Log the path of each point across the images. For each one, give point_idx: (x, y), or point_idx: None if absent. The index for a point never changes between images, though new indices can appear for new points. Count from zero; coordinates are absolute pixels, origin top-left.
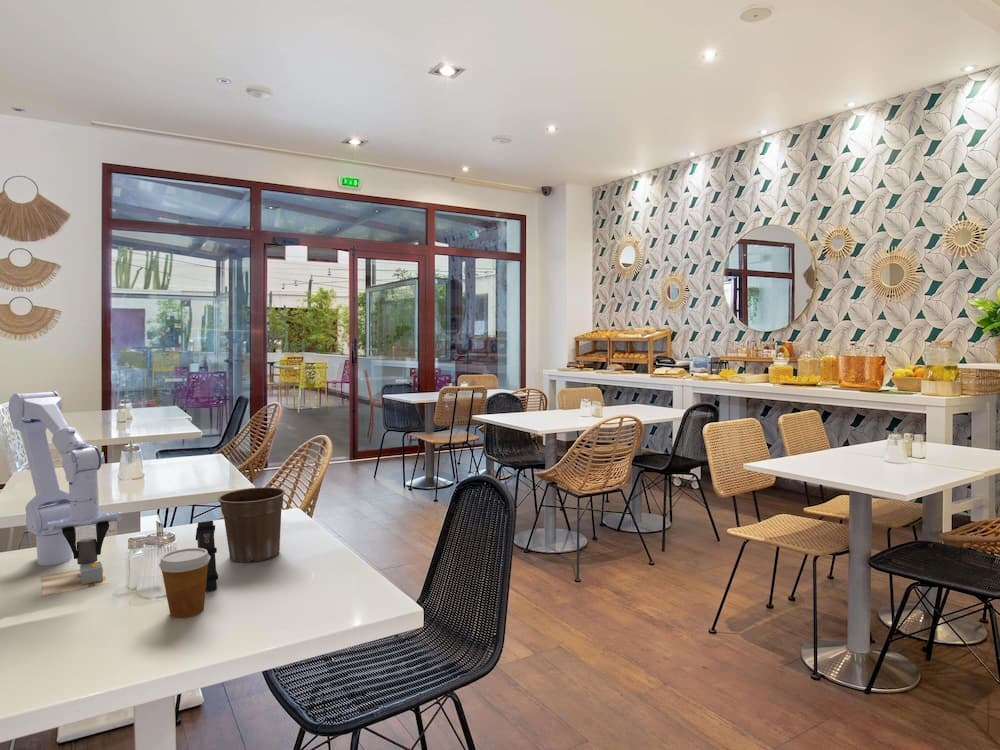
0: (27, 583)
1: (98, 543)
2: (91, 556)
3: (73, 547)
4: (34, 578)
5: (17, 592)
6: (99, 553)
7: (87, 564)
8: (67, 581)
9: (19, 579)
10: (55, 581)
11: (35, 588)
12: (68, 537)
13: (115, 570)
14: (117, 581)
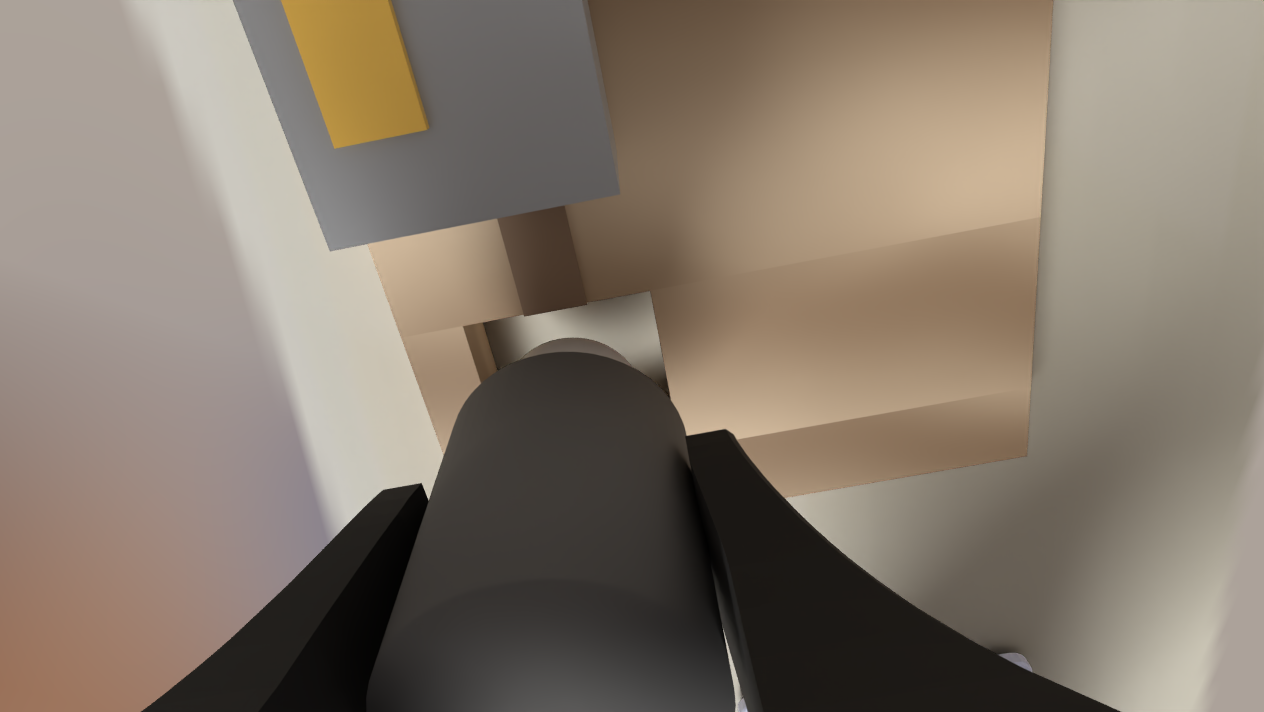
0: (1104, 450)
1: (322, 602)
2: (485, 424)
3: (768, 530)
4: (1040, 554)
5: (1218, 218)
6: (385, 496)
7: (504, 175)
8: (763, 117)
9: (1148, 578)
10: (897, 192)
11: (1055, 265)
12: (959, 686)
13: (354, 474)
14: (205, 73)
